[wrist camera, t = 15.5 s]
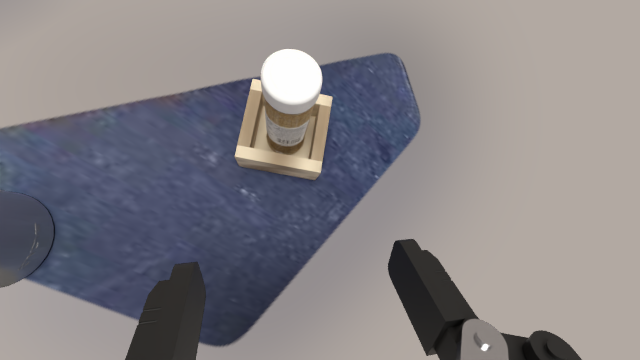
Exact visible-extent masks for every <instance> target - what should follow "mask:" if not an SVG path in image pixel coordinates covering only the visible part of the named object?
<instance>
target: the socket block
mask: <svg viewBox="0 0 640 360" xmlns="http://www.w3.org/2000/svg"><path fill="white" fill-rule="evenodd" d="M331 103H332V97H331V96H326V95H322V94H319V97H318V99H317V101H316V103H315V104H314V106H313V110H312V114H311V117H310V122H309V126H308V129H307V132H306V133H305V139H304V144H303V146H302V147H301V148H300V150H298V151H297V152H296V153H294V154H290V155H286V154H280V153H276V152H275V151H273V150H272V149H271V148H270V146H269V145H268V143H267V139H266V134H267V130H266V118H265V98H264V95H263V93H262V88H261V81H260V80H256V79H253V80H252V84H251V88H250V92H249V97H248V101H247V105H246V110H245V114H244V118H243V123H242V127H241V131H240V135H239V140H238V144H237V148H236V153H235V158H236V160H237V162H238V164H239V166H241V167H246V168H252V169H257V170H262V171H268V172H273V173H279V174H284V175H289V176H295V177H300V178H306V179H311V180H316V178H317V177H318V176H319V174H320V173H321V167H322V161H323V154H324V148H325V141H326V135H327V129H328V122H329V116H330V109H331Z"/></svg>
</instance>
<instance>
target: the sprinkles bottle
mask: <svg viewBox="0 0 640 360" xmlns="http://www.w3.org/2000/svg"><path fill="white" fill-rule="evenodd" d="M321 86H322V73H321V70H320V68H319V66H318V64H317V62H316V61H315V60H314V59H313V58H312V57H311V56H309V55H308V54H306V53H304V52H302V51H299V50H294V49H284V50H280V51H277V52H275V53H274V54H272V55H271V56H269V57H268V58H267V59H266V61H265V62H264V64H263V66H262V70H261V88H262V93H263V95H264V98H265V118H266V130H267V134H266V139H267V143H268V145H269V146H270V148H271V149H272V150H273V151H275V152H276V153H280V154H286V155H290V154H294V153H296V152H297V151H298V150H300V148H301V147H302V146H303V144H304V139H305V133H306V132H307V129H308V126H309V122H310V117H311V114H312V110H313V106H314V104H315V103H316V101H317V99H318V97H319V94H320V90H321Z"/></svg>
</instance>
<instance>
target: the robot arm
mask: <svg viewBox="0 0 640 360" xmlns="http://www.w3.org/2000/svg"><path fill="white" fill-rule="evenodd" d="M53 237H54V226H53V222H52V218H51V216H50V214H49V212H48V210H47V209H46V208H45V207H44V206H43V205H42V204H41V203H40V202H39V201H37V200H36V199H34V198H32V197H30V196H27V195H24V194H21V193H15V192H9V191H3V190H0V288H1V287H5V286H9V285H11V284H13V283H16V282H18V281H20V280H22V279H23V278H25V277H26V276H28V275H29V274H31V273H32V272H33V271H34V270H35V269H36V268H37V267H38V266H39V265H40V264H41V263H42V261H43V260H44V259H45V257H46V256H47V254H48V252H49V250H50V248H51V245H52V241H53ZM388 271H389V275H390V278H391V280H392V283H393V285H394V287H395V289H396V291H397V293H398V295H399V298H400V300H401V301H402V303H403V306H404V308H405V310H406V312H407V314H408V317H409V319H410V321H411V323H412V325H413V327H414V330H415V331H416V334H417V336H418V338H419V340H420V342H421V344H422V347H423V349H424V351H425V353H426V355H427V356H428V355H433V354H437V355H438V357H439V359H440V360H581V358H580V357H579V356H578V354H577V353H576V352H575V351H574V350H573V349H572V347H570V345H569V344H567V343H566V342H565V341H564V340H563V339H561V338H560V337H558V336H556V335H554V334H552V333H550V332H547V331H535V332H534V333H533V334H532V335H531V336H530V337H529V338H526V337H520V336H514V335H509V334H504V333H500V332H499V331H498V330H497V329H496V328H495V327H493V326H492V325H491V324H489V323H487V322H485V321H483V320H480V319H479V318H478V317H477V316H476V315H475V314H474V312H473V310H472V309H471V308H470V306H469V305H468V303H467V302H466V300H465V299H464V298H463V296H462V294H461V293H460V291H459V290H458V288H457V287H456V285H455V284H454V282H453V281H451V278H450V277H449V275H448V274H447V272H445V269H444V268H443V266H442V265H441V263H440V262H439V260H438V259H437V258H436V257H434V256H433V255H432V254H431V253H430V252H428V251H427V250H421V248H420V247H419V245H418V244H417V242H416V241H415V240H414V239H407V240H398V241H395V243H394V245H393V249H392V252H391V256H390V259H389V263H388ZM205 298H206V291H205V285H204V281H203V278H202V274H201V271H200V268H199V264H198V262H191V263H182V264H175V266H174V267H173V270H172V273H171V277H170V280H164V281H159V282H158V283H157V285H156V286H155V287H154V288H153V290H152V291H151V292H150V293H149V295H148V297H147V300H146V303H145V306H144V308H143V313H142V314H141V317H140V320H139V325H138V326H137V328H136V331H135V334H134V337H133V339H132V342H131V345H130V348H129V350H128V353H127V356H126V359H125V360H196V354H197V348H198V342H199V336H200V330H201V324H202V318H203V312H204V306H205Z"/></svg>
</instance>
